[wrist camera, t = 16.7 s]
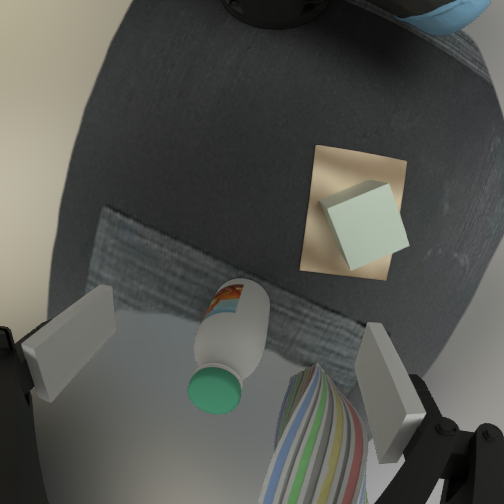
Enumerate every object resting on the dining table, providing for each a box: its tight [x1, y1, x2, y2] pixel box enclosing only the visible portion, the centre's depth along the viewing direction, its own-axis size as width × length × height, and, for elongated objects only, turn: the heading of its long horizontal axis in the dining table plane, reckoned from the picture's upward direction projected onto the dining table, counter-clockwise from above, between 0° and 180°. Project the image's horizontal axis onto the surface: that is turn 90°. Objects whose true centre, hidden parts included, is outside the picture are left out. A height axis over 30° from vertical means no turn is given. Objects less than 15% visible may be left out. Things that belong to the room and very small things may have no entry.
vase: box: [258, 363, 368, 504], centre depth 32 cm, size 14×14×30 cm
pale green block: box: [319, 179, 409, 271], centre depth 35 cm, size 7×7×8 cm
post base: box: [299, 145, 407, 280], centre depth 36 cm, size 16×12×6 cm
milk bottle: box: [188, 278, 270, 414], centre depth 34 cm, size 8×8×20 cm
